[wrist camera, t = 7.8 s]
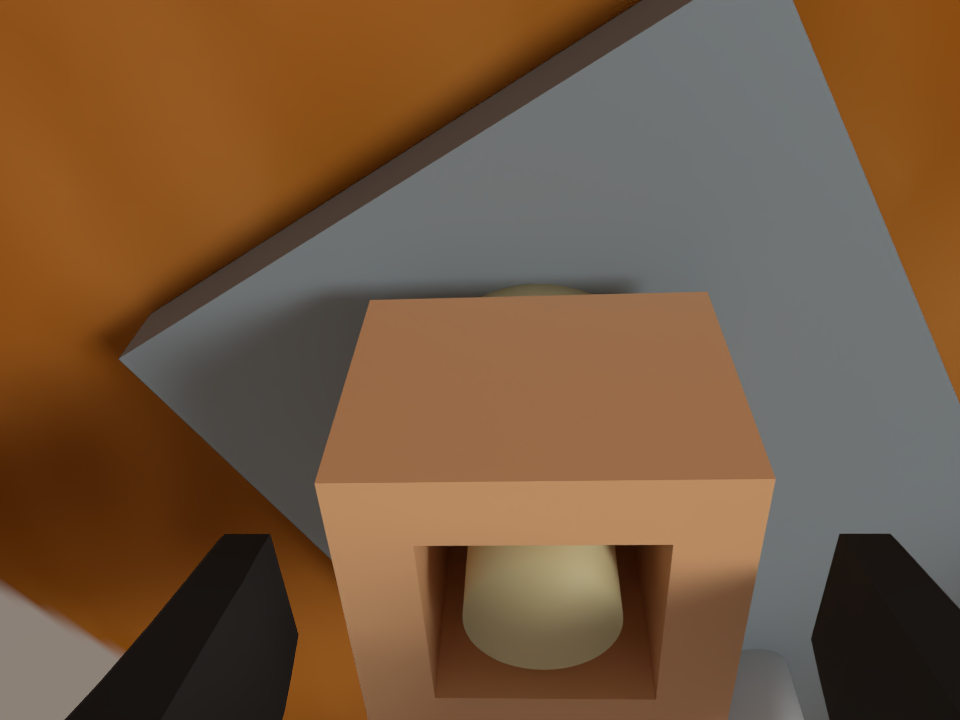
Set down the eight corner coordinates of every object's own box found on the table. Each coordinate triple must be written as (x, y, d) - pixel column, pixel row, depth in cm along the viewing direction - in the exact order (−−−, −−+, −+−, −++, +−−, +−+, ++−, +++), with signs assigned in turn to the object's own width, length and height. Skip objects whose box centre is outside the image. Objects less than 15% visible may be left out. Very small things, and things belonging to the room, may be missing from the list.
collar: (707, 291, 12) (775, 478, 9) (679, 532, 15) (723, 741, 12) (370, 300, 12) (313, 483, 9) (405, 533, 15) (372, 737, 12)
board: (1044, 636, 20) (1236, 947, 15) (602, 766, 24) (624, 1046, 19) (745, -66, 12) (932, 56, 6) (150, 314, 16) (-43, 583, 10)
